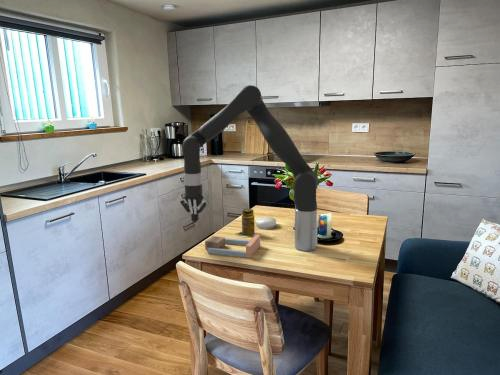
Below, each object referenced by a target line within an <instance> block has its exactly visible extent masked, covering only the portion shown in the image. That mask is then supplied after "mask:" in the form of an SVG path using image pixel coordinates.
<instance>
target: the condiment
mask: <svg viewBox="0 0 500 375" xmlns="http://www.w3.org/2000/svg"><path fill="white" fill-rule="evenodd" d="M241 214H242V215H241V231H240V232H235V234H236V235H238V237H241V238H242V239H243V238H248V237H254V236H255V235H258V233H257V232H256V230H255V225H256V224H255V215H254V214H255V213H254V209H252V208H244V209H242V213H241Z"/></svg>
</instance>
